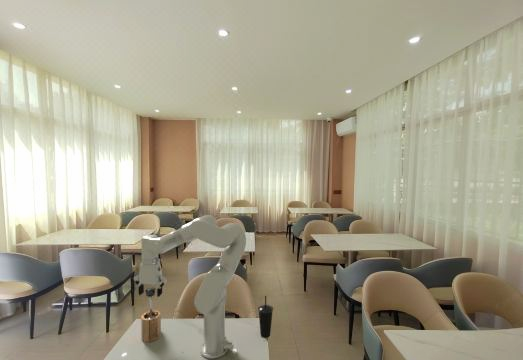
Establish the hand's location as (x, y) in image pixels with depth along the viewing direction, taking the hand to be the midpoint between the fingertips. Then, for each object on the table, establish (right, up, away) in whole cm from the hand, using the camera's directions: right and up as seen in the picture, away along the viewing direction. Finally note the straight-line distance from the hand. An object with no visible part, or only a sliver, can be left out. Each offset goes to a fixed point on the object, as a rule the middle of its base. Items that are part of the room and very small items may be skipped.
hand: (150, 294), depth 129 cm
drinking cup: (+57, -22, +3) cm, 61 cm away
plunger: (0, -13, 0) cm, 13 cm away
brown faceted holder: (0, -21, +1) cm, 21 cm away
